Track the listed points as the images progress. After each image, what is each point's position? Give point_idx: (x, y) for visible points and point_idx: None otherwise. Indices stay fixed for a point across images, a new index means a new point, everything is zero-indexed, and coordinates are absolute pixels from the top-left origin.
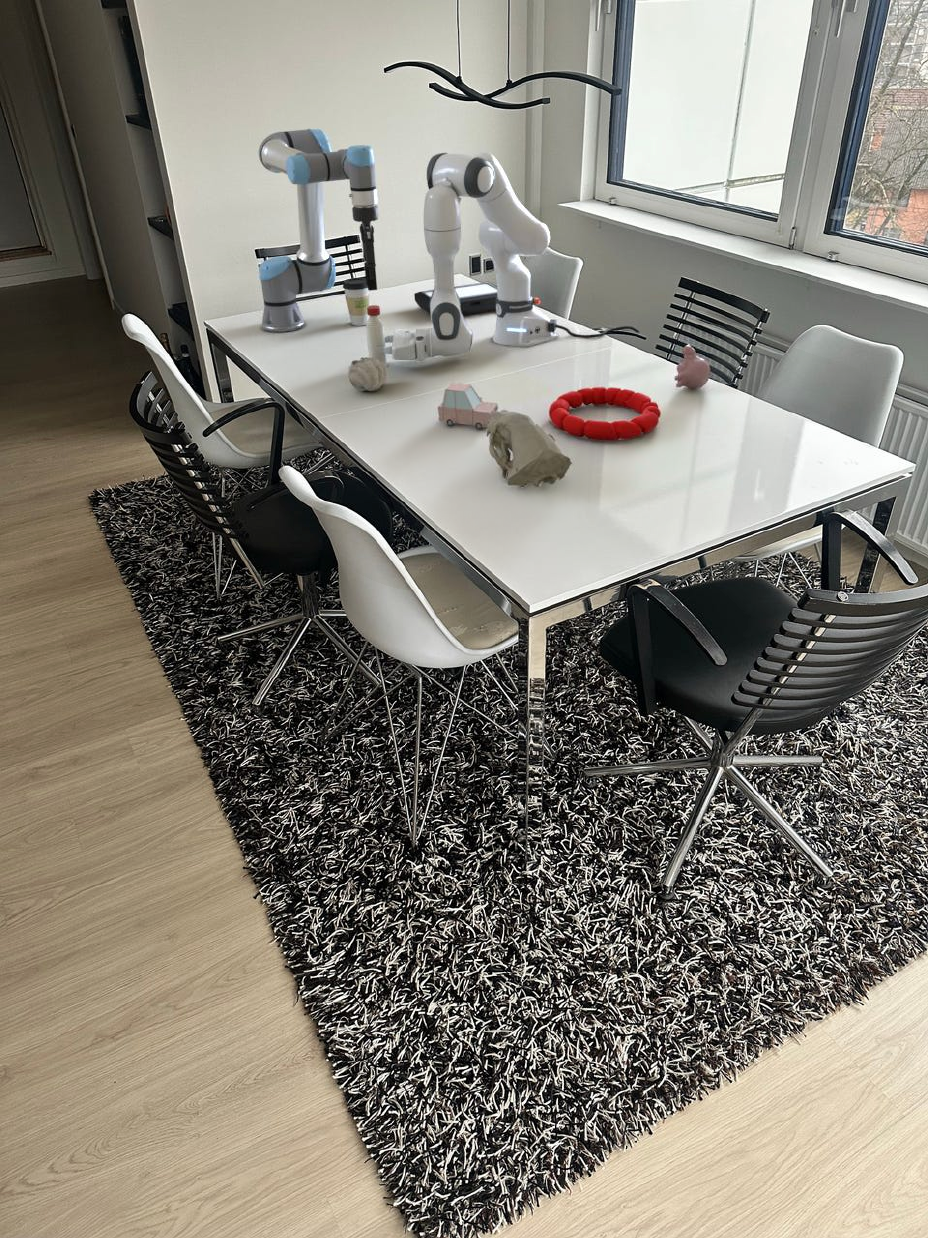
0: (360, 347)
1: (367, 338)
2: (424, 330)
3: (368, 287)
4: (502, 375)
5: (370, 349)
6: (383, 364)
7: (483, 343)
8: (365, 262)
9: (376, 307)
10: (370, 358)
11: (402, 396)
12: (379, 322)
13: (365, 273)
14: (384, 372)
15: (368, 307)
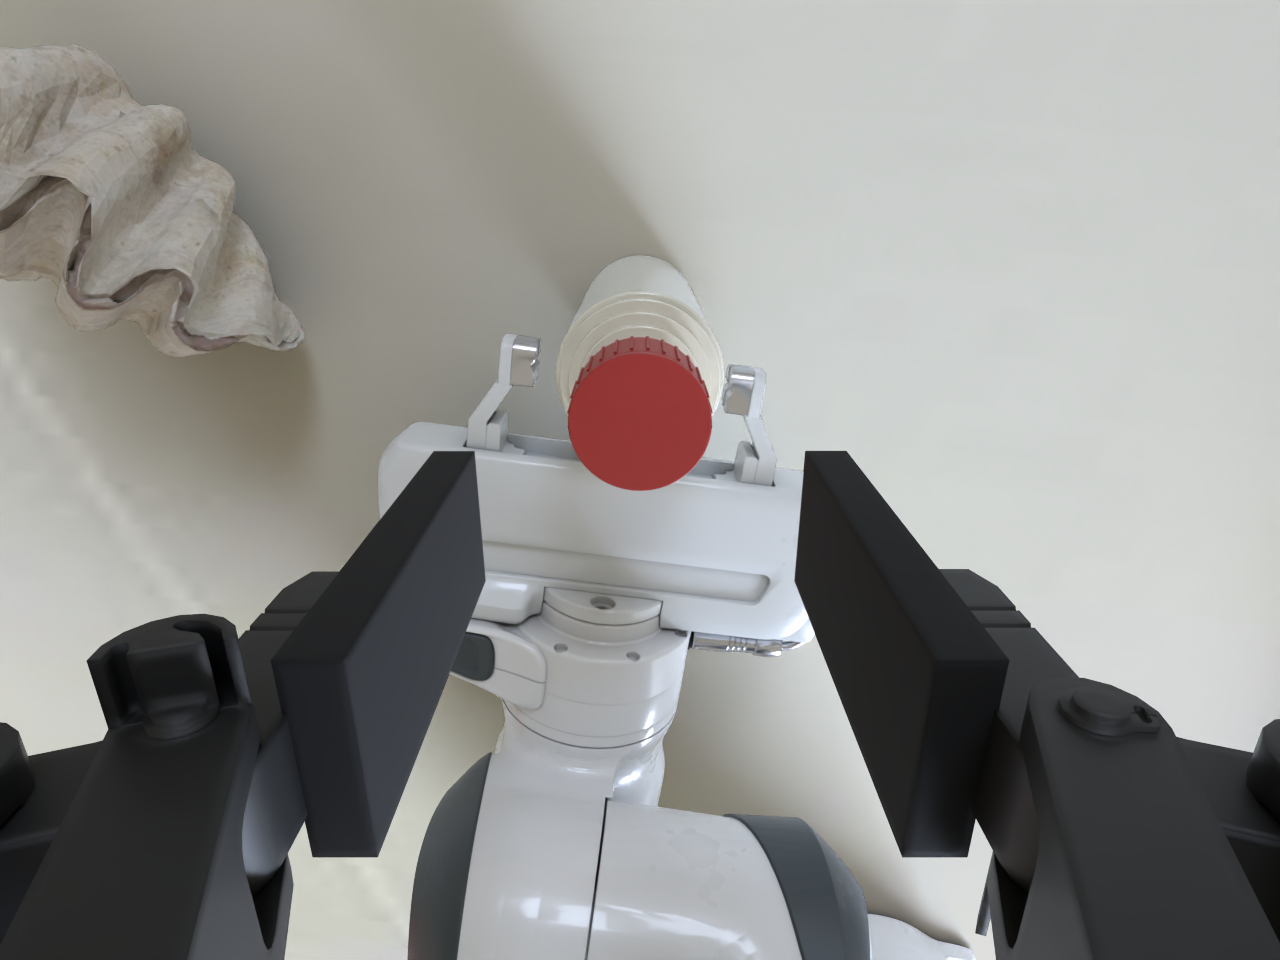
0: (1073, 227)
1: (624, 278)
2: (564, 709)
3: (418, 473)
4: (358, 864)
5: (597, 283)
6: (166, 343)
7: None
8: (983, 686)
9: (608, 456)
10: (85, 253)
11: (76, 397)
12: None
13: (851, 531)
14: (145, 334)
15: (635, 367)
